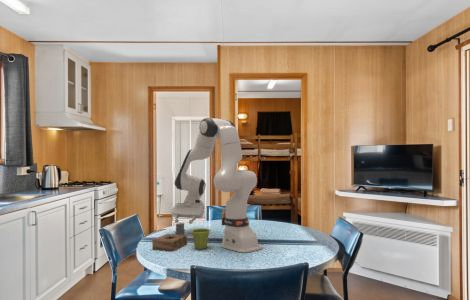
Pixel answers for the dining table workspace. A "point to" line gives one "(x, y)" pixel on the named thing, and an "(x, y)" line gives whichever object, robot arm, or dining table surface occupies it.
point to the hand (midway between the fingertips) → (183, 222)
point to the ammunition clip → (223, 216)
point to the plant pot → (200, 238)
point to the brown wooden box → (169, 242)
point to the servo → (180, 229)
